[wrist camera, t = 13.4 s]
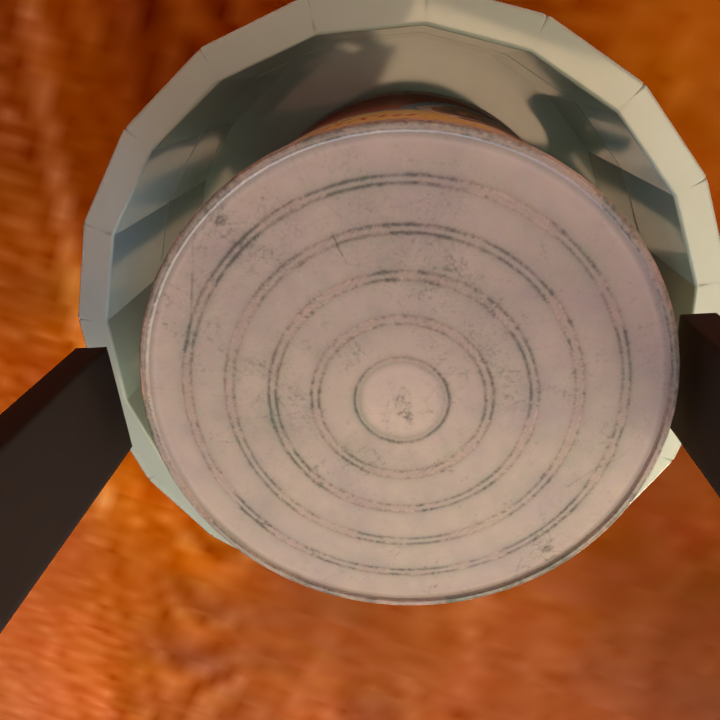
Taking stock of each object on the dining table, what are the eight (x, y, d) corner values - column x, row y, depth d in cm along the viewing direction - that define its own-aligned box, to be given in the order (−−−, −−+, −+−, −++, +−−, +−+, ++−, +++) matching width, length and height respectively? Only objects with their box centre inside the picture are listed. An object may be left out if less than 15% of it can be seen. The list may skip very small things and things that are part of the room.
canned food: (625, 213, 24) (806, 344, 13) (437, 436, 28) (454, 674, 17) (363, 18, 22) (318, -21, 11) (203, 288, 26) (56, 452, 15)
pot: (222, 449, 30) (152, 596, 22) (142, 37, 23) (-2, 26, 15) (606, 434, 28) (686, 587, 20) (638, -12, 22) (778, -55, 13)
